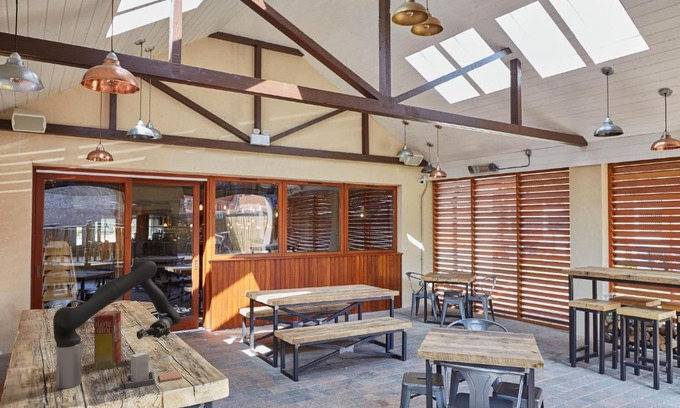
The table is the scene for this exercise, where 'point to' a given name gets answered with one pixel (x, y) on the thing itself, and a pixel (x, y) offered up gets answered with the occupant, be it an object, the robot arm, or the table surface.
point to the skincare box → (139, 367)
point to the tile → (170, 376)
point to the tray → (139, 383)
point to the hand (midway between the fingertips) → (148, 336)
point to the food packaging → (107, 339)
